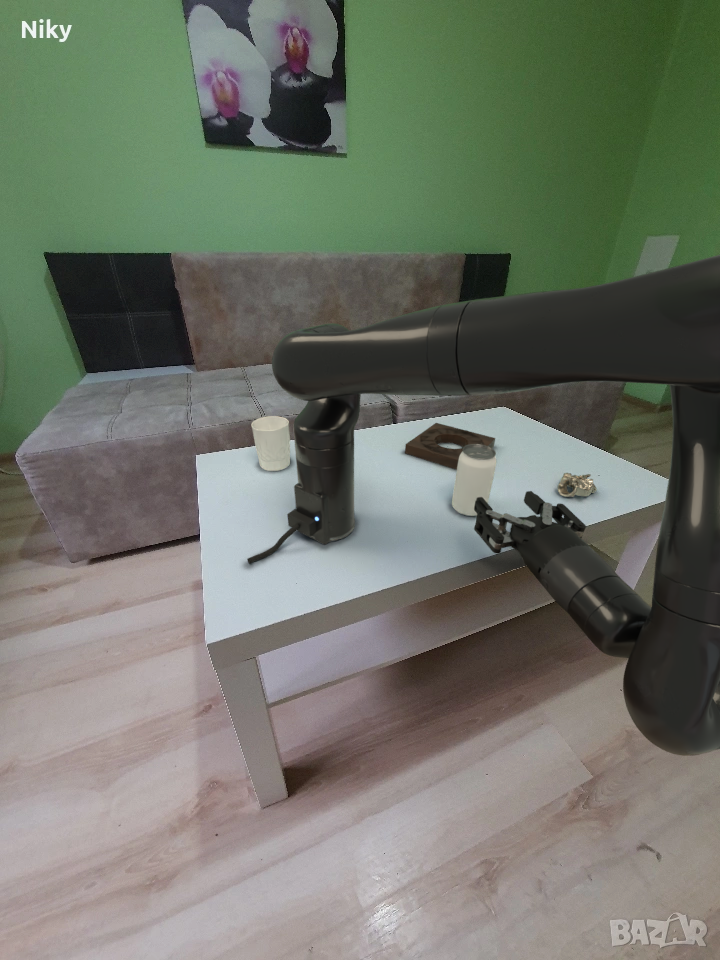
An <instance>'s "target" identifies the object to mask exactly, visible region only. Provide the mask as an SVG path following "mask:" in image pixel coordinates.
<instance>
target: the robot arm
mask: <svg viewBox="0 0 720 960" xmlns="http://www.w3.org/2000/svg"><path fill="white" fill-rule="evenodd" d="M271 370H272V374H273V376H274V378H275V381H276V383H277V384H278V385H279V386H280V388H281V389H282V390H283V391H285V392H286V393H287V394H288V395H290V396H291V397H293V398H296V399H297V400H300V401H305V402H306V404H305V406H304V408H302V410H301V411H300V413H299V414H298V415H296V417H295V419H294V420H293V427H292V428H293V430H292V431H293V439H294V440H293V441H294V451H295V463H296V472H297V473H296V474H297V483H296V484H294V486H293V491H294V500H295V501H294V502H295V508H294V509H292V510H291V511H289V512H288V513H287V514H286V515H287V524H288V527H290V528H289V529H288V530H287V531H286V532H285V533H283V534H282V536H280V537H279V539H278V540H277V542H276V543H275V544H274V545H273V546H271V547H270V548H268V549H267V550H265V551H262V552H260V553H257V554H255V555H252V556H250V557H248V558H247V562H248V564H249V565H250V564H252V563H254V562H257V561H259V560H262V559H265V558H267V557H269V556H270V555H272V554H274V553H276V552H277V551H278V550H279V549H280V548H281V547H282V545H283V544H284V542H285V541H286V540H288V539H289V537H291V536H292V535H293V534H294V533H296V532H299V533H300V534H302V535H304V536H306V537H308V538H309V539H312V540H314V541H316V542H318V543H319V544H322V545H327V544H328V543H330V542H335V541H339V540H342V539H344V538H346V537H348V536H349V535H351V533H353V531H354V529H355V526H356V518H355V428H356V426H357V422H359V421H358V420H359V417H360V413H361V397H362V396H361V395H385V396H434V397H435V396H439V397H453V396H454V397H458V396H459V397H461V396H465V397H467V396H489V395H500V394H501V395H502V394H508V393H509V394H510V393H517V392H523V391H524V392H525V391H529V390H536V389H541V388H547V387H551V386H553V387H554V386H557V385H565V384H571V383H572V384H574V383H589V382H590V383H593V382H596V383H599V382H600V383H603V382H605V383H606V382H607V383H629V384H631V383H632V384H652V385H653V384H654V385H667V386H669V391H670V392H669V393H670V400H671V410H672V411H671V413H672V439H671V440H672V442H671V457H670V467H669V473H668V474H669V475H668V481H667V488H666V493H665V499H664V505H663V510H662V515H661V522H660V526H659V527H660V528H659V533H658V541H657V547H656V553H655V554H656V555H655V561H654V563H655V564H654V573H653V581H652V582H653V583H652V592H651V593H652V595H651V605H650V604H649V603H648V602H647V601H645V600H644V598H642V596H641V595H639V594H638V592H636V591H635V590H634V589H633V588H632V587H631V586H630V585H629V584H628V583H626V581H625V580H623V579H622V578H621V577H620V576H619V574H618V573H617V572H616V571H615V570H614V568H613V567H612V566H611V564H609V563H608V561H606V560H605V559H604V558H603V557H602V556H601V555H600V554H599V553H598V552H597V551H596V550H595V549H593V548H592V547H591V546H590V545H589V544H588V543H587V542H586V541H585V540H583V535H584V534H585V530H586V528H587V525H586V524H585V523H584V522H583V521H582V520H581V519H580V518H579V517H578V516H577V515H575V513H574V512H572V511H571V510H570V509H569V508H568V507H567V506H566V505H565V504H563V503H557V504H556V505H553V504H552V503H550V502H546V501H544V499H542V497H540V496H539V495H538V494H536V493H534V491H532V490H528V491H526V492H525V494H524V497H523V503H524V504H525V505H526V506H527V508H529V510H531V511H532V513H534V514H532V515H528V516H518V517H516V516H515V515H512V514H510V513H503V514H502V513H499V512H497V511H494V509H493V508H492V506H491V505H490V504H489V502H488V503H487V502H486V501H485V500H484V499H483V497H477V499H476V501H475V506H474V510H475V512H476V513H477V516H475V524H474V527H473V530H474V531H475V532H476V534H477V535H478V536H479V538H481V540H482V541H483V542H484V543H485V545H486V546H487V547H488V548H489V549H490V551H491V552H493V553H494V554H497V555H498V554H500V553H501V552H502V549H505V548H510V547H511V548H512V549H514V550H516V551H517V552H518V553H519V555H520V556H521V558H522V561H523V563H524V565H525V566H526V568H527V569H528V570H529V571H530V572H531V573H532V575H533V576H534V577H535V579H536V580H537V581H538V582H539V584H541V586H542V587H543V588H544V590H545V591H546V592H547V593H548V594H549V596H550V597H551V598H552V599H553V600H554V601H555V602H556V604H557V605H558V606H559V607H561V608H562V609H563V610H564V611H565V612H566V613H567V614H568V615H569V617H571V619H572V620H573V621H574V623H575V624H576V625H577V626H578V627H579V629H580V630H581V631H582V632H583V634H584V635H585V636H586V637H587V639H588V640H589V641H590V642H591V643H592V644H593V645H594V646H595V647H596V648H597V649H598V650H599V652H601V653H603V654H604V655H607V656H610V657H614V658H620V659H621V658H622V659H627V662H626V665H625V669H624V672H623V680H622V692H623V698H624V703H625V706H626V707H625V708H626V709H627V712H628V715H629V716H630V718H631V720H632V722H633V724H634V726H635V727H636V729H638V731H639V732H640V733H641V735H642V736H644V737H645V738H646V740H647V741H649V743H652V745H654V746H656V747H657V748H658V749H660V750H662V751H665V753H666V752H667V753H669V754H672V755H676V756H683V757H693V756H700V755H705V754H708V753H711V752H714V751H718V750H720V254H718V255H714V256H710V257H706V258H703V259H699V260H693V261H691V262H687V263H682V264H679V265H675V266H671V267H668V268H664V269H663V268H662V269H659V270H655V271H651V272H648V273H643V274H640V275H639V274H638V275H635V276H632V277H628V278H627V277H626V278H624V279H619V280H615V281H610V282H606V283H601V284H596V285H591V286H584V287H577V288H576V287H575V288H569V289H558V290H557V289H556V290H554V289H553V290H544V291H543V290H542V291H533V292H525V293H524V292H523V293H517V294H509V295H503V296H502V295H500V296H495V297H494V296H493V297H485V298H477V299H471V300H465V301H459V302H453V303H446V304H441V305H435V306H432V307H428V308H423V309H419V310H415V311H413V312H409V313H405V314H402V315H398V316H394V317H391V318H389V319H385V320H382V321H380V322H379V321H378V322H376V323H373V324H370V325H366V326H364V327H361V328H357V329H350V330H349V328H347V327H345V326H344V325H342V324H339V323H332V322H331V323H323V324H319V325H314V326H309V327H306V328H305V327H304V328H300V329H296V330H293V331H292V332H290V333H288V334H286V335H285V336H284V337H283V338H282V339H281V340H279V341H278V343H277V345H276V346H275V349H274V351H273V354H272V358H271ZM494 520H495V521H497V522H498V523H495V522H494ZM553 520H554V521H553ZM508 523H509V524H511V525H510V530H509V531H508V530H507V526H508Z"/></svg>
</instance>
